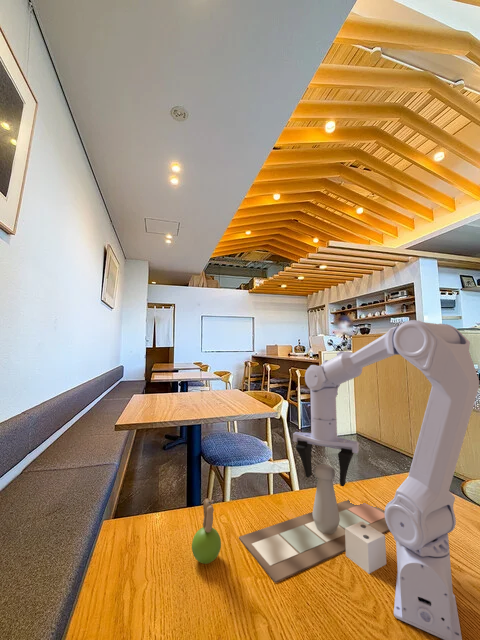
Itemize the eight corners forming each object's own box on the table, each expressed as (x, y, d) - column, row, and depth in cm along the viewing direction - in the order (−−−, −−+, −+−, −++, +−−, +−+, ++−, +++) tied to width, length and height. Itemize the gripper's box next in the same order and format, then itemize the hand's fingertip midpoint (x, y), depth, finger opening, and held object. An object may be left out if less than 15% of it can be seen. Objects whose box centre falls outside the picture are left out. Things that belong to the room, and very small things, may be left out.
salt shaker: (316, 517, 65) (315, 459, 66) (342, 525, 62) (340, 464, 64) (309, 531, 60) (308, 467, 62) (336, 540, 57) (334, 473, 59)
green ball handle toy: (193, 578, 47) (195, 503, 49) (190, 553, 53) (192, 486, 55) (224, 572, 49) (225, 499, 50) (217, 548, 55) (219, 483, 56)
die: (368, 574, 49) (367, 542, 49) (345, 556, 53) (344, 527, 54) (386, 564, 51) (384, 534, 52) (363, 548, 55) (361, 520, 56)
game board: (275, 583, 46) (275, 580, 46) (238, 538, 58) (238, 536, 58) (405, 523, 64) (405, 521, 64) (357, 497, 75) (357, 496, 75)
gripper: (360, 418, 64) (362, 481, 62) (299, 411, 71) (300, 466, 69) (354, 424, 58) (357, 494, 56) (289, 416, 65) (289, 476, 64)
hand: (325, 480), depth 62 cm, fingers open, 7 cm apart
